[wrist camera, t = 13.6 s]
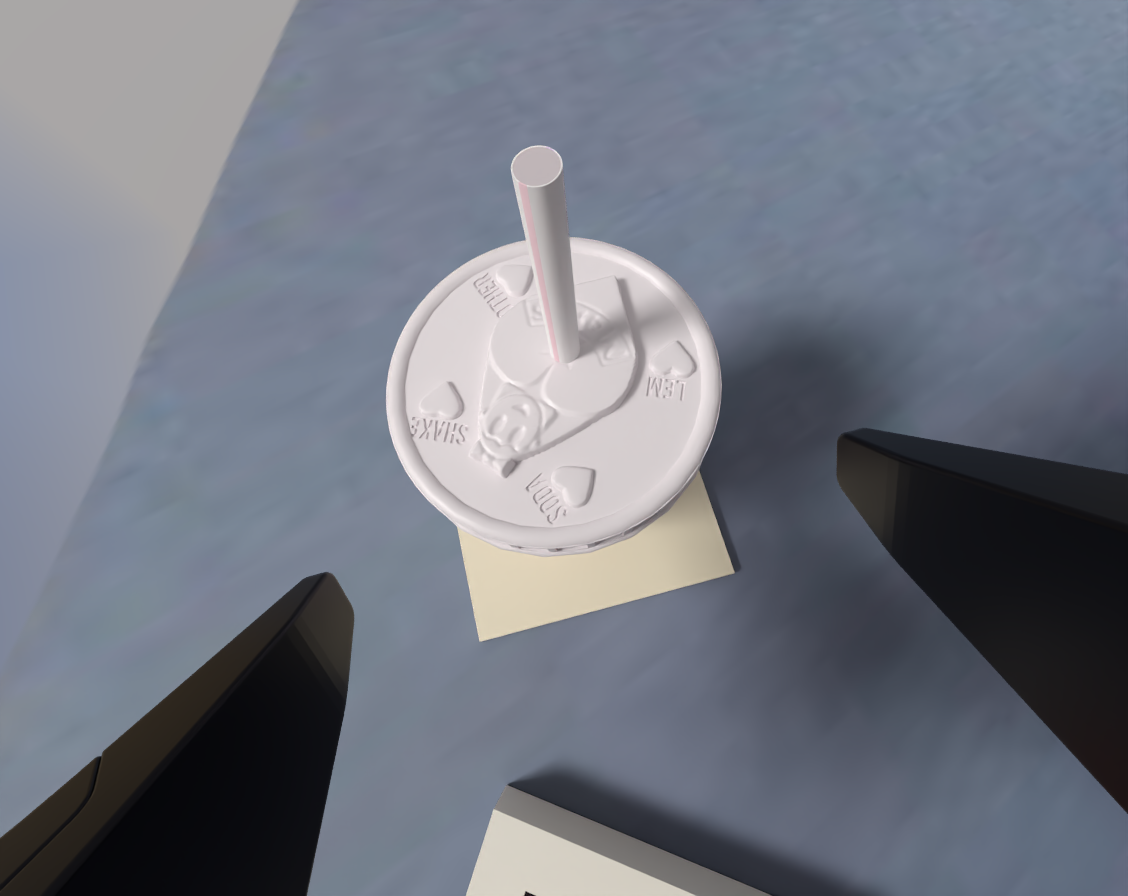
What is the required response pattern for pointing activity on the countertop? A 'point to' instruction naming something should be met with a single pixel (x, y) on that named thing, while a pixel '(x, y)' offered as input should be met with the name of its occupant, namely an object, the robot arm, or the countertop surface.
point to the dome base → (580, 858)
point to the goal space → (595, 570)
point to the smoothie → (553, 385)
